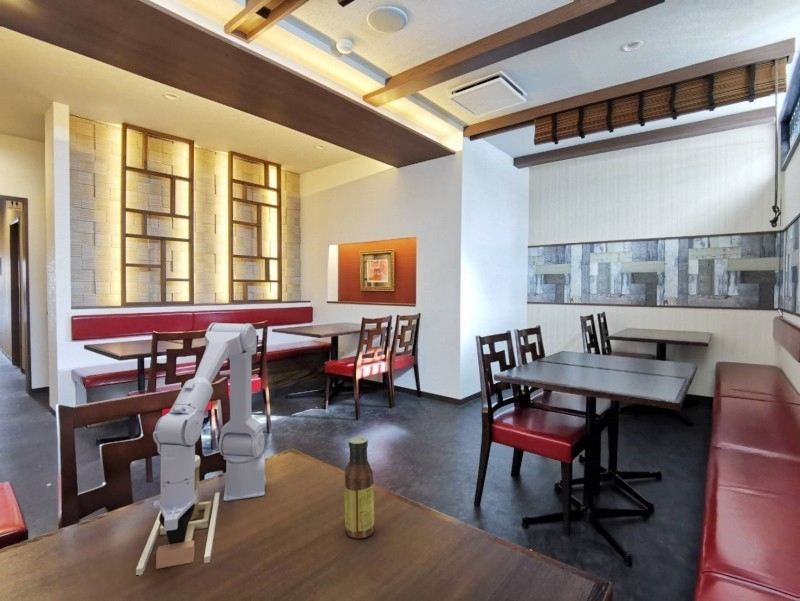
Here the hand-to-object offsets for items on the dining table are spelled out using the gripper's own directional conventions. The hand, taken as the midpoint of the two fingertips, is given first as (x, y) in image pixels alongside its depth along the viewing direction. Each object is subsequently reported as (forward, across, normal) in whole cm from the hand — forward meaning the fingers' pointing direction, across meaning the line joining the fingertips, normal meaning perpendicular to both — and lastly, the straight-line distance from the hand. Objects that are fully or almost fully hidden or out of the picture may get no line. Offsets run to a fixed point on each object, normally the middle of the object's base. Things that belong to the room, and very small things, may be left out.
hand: (177, 547), depth 79 cm
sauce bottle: (+2, +2, +35) cm, 35 cm away
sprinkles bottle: (+2, -15, 0) cm, 15 cm away
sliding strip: (+2, -8, 0) cm, 8 cm away
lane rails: (+2, -10, 0) cm, 10 cm away
